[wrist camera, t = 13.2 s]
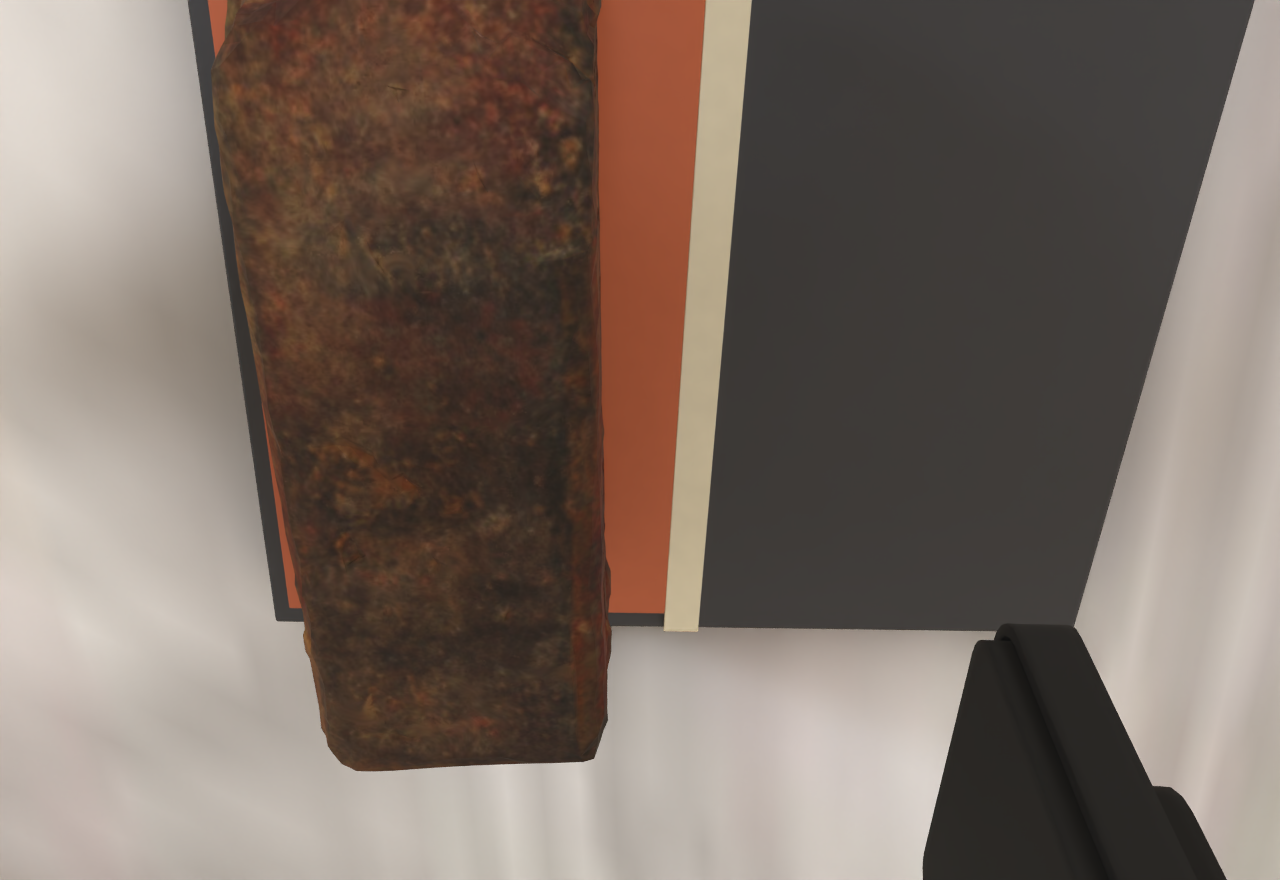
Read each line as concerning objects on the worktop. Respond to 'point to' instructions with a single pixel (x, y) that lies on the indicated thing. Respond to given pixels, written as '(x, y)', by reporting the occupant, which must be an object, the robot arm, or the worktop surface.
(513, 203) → the brick
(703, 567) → the board
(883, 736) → the worktop surface
